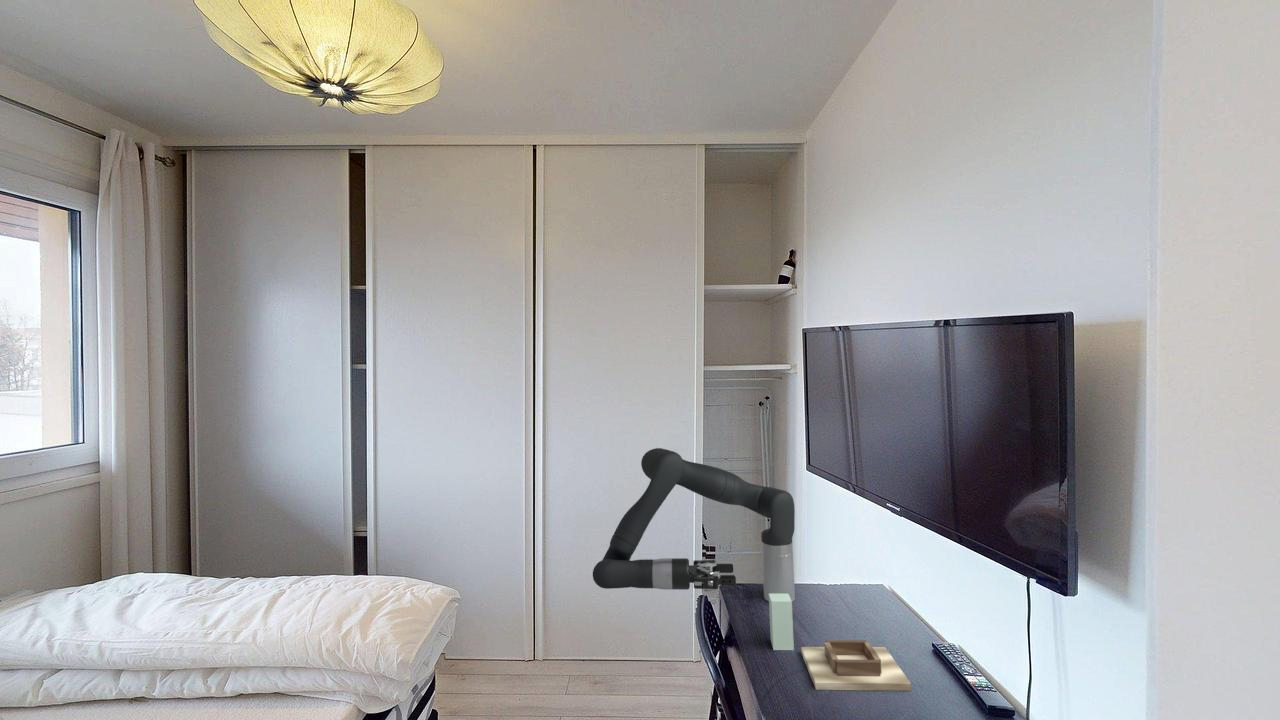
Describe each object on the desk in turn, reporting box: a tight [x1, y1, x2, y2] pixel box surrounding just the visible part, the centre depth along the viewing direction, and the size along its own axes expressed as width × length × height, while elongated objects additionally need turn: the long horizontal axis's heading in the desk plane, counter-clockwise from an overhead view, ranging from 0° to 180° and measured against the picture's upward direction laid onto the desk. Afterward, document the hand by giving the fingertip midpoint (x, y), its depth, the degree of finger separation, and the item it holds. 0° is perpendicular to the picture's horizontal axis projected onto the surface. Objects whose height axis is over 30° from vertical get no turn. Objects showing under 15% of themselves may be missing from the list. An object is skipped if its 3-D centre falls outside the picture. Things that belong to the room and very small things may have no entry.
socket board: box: [800, 639, 912, 692], centre depth 129 cm, size 16×20×4 cm
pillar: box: [768, 594, 795, 651], centre depth 143 cm, size 5×5×12 cm
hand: (734, 573), depth 144 cm, fingers open, 8 cm apart
